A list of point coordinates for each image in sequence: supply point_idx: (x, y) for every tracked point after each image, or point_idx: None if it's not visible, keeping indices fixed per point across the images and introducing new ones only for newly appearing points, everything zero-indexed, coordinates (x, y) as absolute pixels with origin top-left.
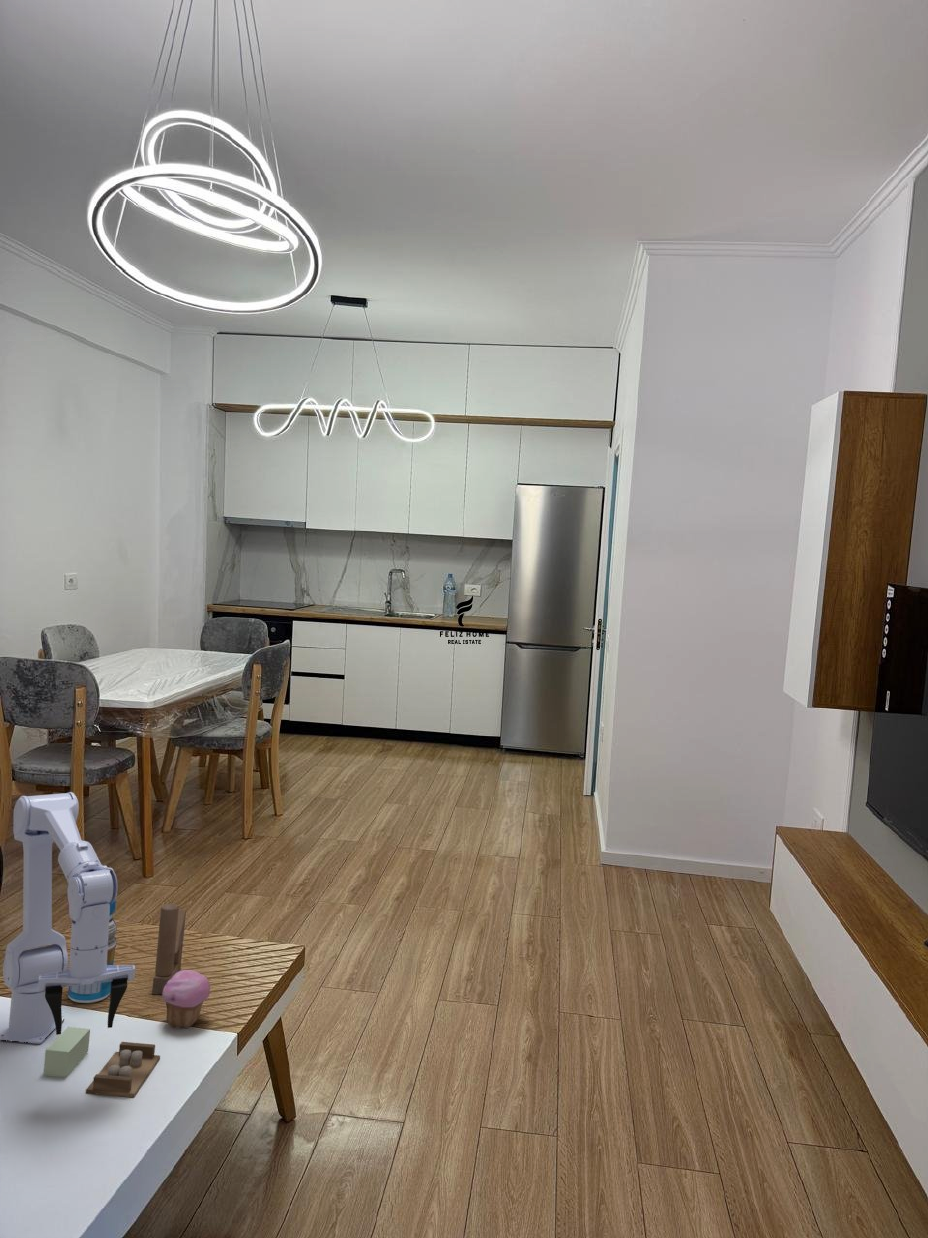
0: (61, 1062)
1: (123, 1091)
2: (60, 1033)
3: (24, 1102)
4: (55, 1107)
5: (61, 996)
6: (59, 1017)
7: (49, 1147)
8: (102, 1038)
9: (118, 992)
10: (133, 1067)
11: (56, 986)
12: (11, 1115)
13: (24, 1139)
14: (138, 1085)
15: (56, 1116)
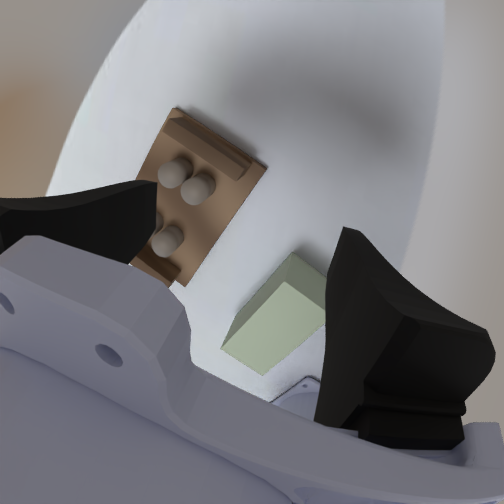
0: (300, 277)
1: (190, 123)
2: (346, 227)
3: (393, 200)
4: (339, 145)
5: (402, 321)
6: (366, 258)
7: (373, 9)
8: (204, 345)
9: (3, 202)
10: (159, 212)
11: (400, 439)
12: (426, 165)
13: (417, 61)
14: (159, 137)
15: (344, 108)
